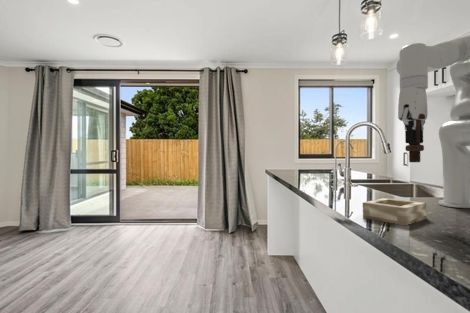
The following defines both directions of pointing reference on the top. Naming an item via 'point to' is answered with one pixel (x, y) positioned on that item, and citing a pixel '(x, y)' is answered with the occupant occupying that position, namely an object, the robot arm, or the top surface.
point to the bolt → (416, 147)
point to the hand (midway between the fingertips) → (414, 142)
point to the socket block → (394, 211)
